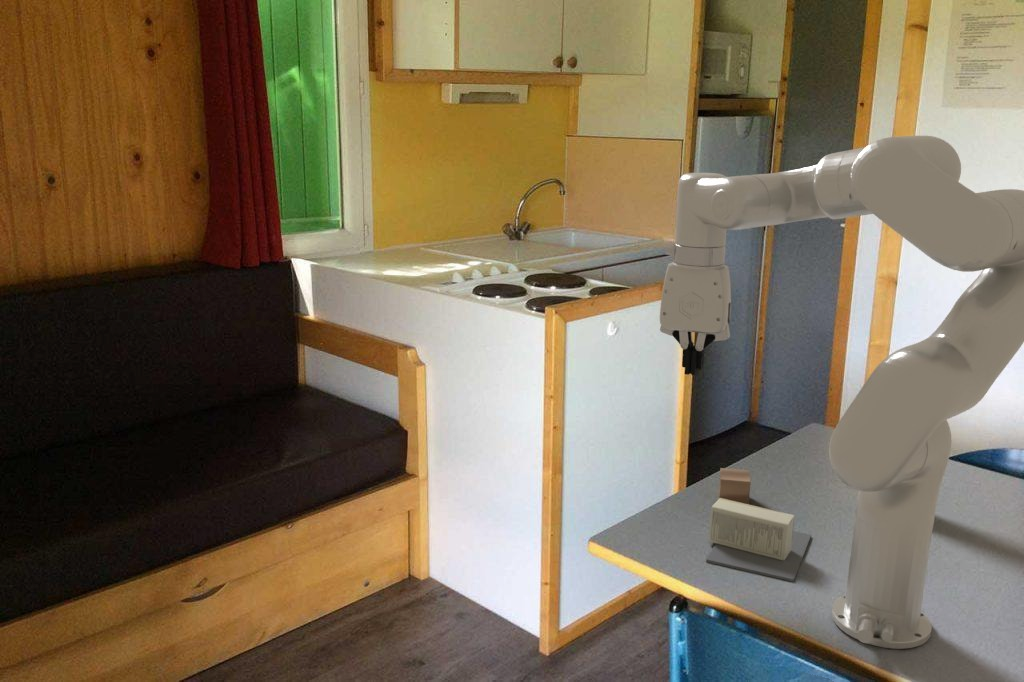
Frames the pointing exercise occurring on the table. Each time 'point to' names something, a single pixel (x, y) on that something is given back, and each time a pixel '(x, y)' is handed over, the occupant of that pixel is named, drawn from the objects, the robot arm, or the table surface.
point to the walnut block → (734, 485)
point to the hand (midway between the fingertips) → (692, 372)
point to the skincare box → (751, 528)
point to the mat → (763, 559)
